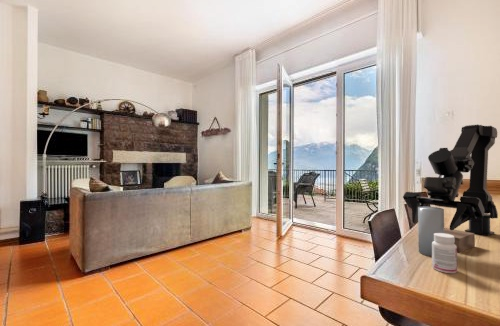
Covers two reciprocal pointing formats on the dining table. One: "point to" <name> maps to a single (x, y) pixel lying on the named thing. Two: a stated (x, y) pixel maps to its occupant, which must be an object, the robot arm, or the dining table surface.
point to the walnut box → (462, 239)
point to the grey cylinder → (429, 227)
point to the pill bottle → (444, 253)
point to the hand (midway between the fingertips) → (431, 225)
